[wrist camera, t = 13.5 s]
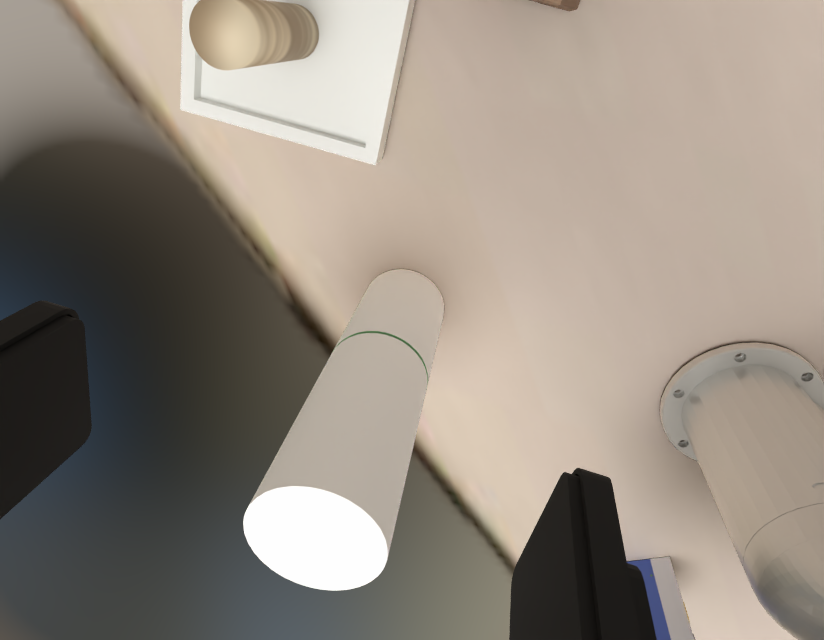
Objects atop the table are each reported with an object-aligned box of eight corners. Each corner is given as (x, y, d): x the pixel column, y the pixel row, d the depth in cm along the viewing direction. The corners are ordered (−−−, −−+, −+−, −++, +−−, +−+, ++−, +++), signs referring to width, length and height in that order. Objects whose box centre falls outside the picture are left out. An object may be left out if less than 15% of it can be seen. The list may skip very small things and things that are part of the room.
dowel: (322, 10, 36) (255, 5, 27) (315, 65, 38) (249, 78, 29) (273, -3, 37) (190, -14, 27) (268, 52, 38) (187, 60, 29)
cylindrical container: (354, 323, 49) (231, 557, 28) (379, 256, 46) (260, 464, 24) (426, 353, 50) (361, 607, 28) (457, 288, 46) (409, 523, 24)
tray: (427, -57, 35) (421, -62, 33) (382, 158, 42) (375, 165, 40) (205, -118, 35) (185, -127, 33) (197, 105, 42) (180, 109, 40)
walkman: (599, 582, 60) (618, 698, 50) (593, 565, 59) (611, 680, 49) (675, 573, 58) (711, 694, 47) (670, 556, 57) (706, 675, 46)
